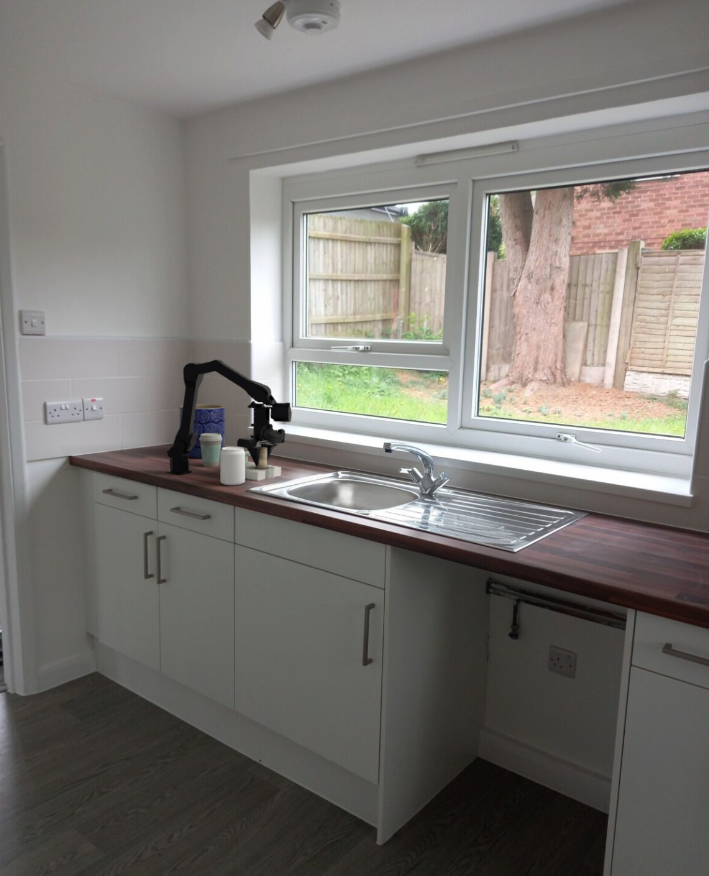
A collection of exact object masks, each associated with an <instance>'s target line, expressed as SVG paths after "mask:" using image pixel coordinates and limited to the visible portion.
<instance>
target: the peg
mask: <svg viewBox="0 0 709 876" xmlns="http://www.w3.org/2000/svg"><path fill="white" fill-rule="evenodd" d="M267 465H268V462H267V448H266V447H262V449H261V450H260V451H259V464H258V466H256V469H259V470H264V469H267Z"/></svg>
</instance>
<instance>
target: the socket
mask: <svg viewBox="0 0 709 876" xmlns="http://www.w3.org/2000/svg"><path fill="white" fill-rule="evenodd" d="M280 476H282V467H281V466H276V465H270V464H267V469H264V470H259V469H256V465H255V463H254V461H253V462H252V461H248V462H245V479H248V480H253V481H256V482H257V481H262V480H269V479H274V478H276V477H280Z"/></svg>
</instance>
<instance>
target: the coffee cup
mask: <svg viewBox="0 0 709 876" xmlns="http://www.w3.org/2000/svg"><path fill="white" fill-rule="evenodd" d="M199 440H200V443H201V452H202V458H201V459H202V466H203V467H206V468H215V467H219V465H220V450H221V440H222V437H221V434H217V433H205V434H201V436H200V439H199Z"/></svg>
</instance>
